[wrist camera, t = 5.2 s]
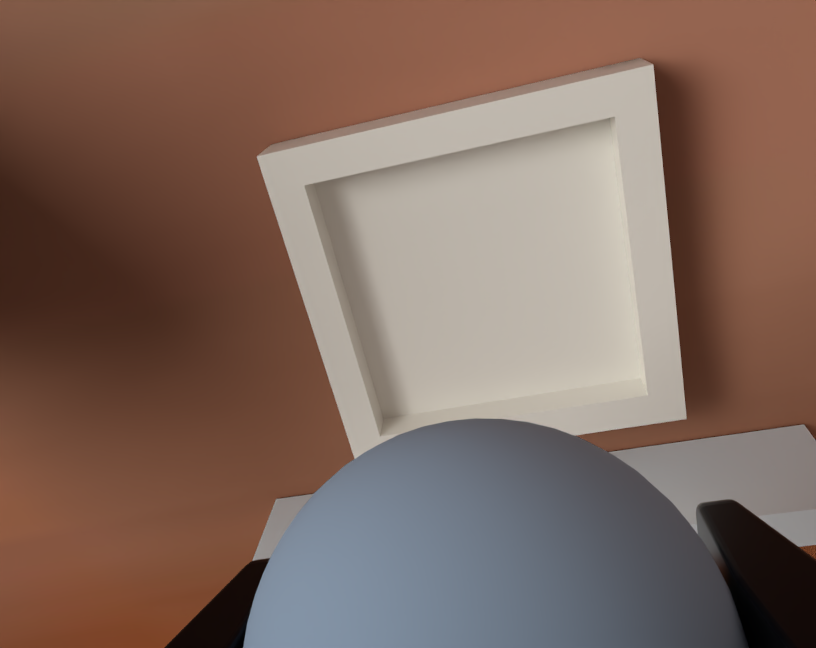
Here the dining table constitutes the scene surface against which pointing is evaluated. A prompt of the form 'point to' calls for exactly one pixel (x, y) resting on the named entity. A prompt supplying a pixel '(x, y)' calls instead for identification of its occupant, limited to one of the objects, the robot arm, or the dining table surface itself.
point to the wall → (696, 480)
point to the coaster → (490, 259)
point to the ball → (491, 552)
